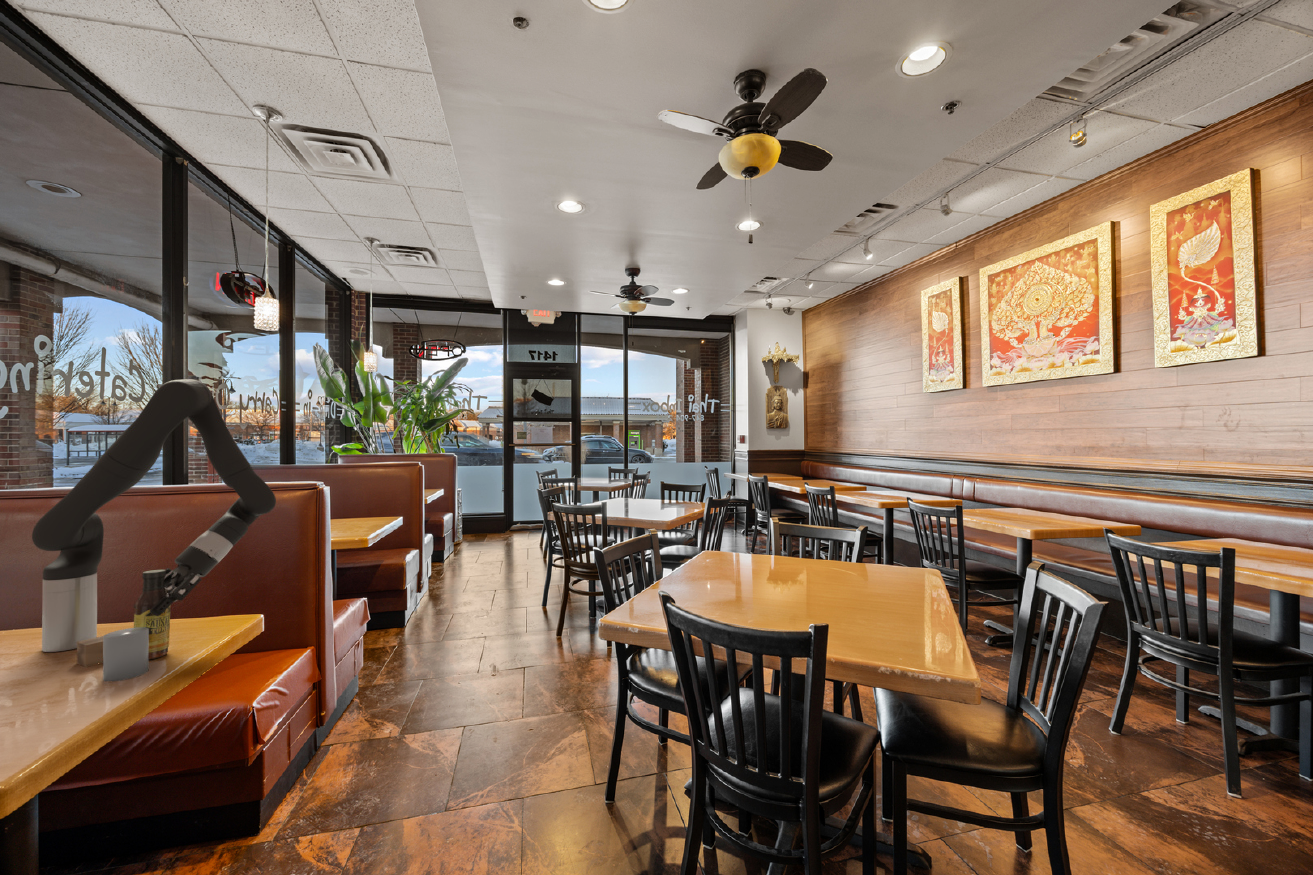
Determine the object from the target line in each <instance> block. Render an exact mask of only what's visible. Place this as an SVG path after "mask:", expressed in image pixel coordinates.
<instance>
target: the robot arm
mask: <svg viewBox="0 0 1313 875" xmlns="http://www.w3.org/2000/svg"><path fill="white" fill-rule="evenodd" d="M186 419H189V420H190V422H192V424H193V425H194V427H195V428H196V429H197V431H198V433H199V435H200V437H201V438H202V442H203V445H204V448H205V451H206V454H207V457H208V459H209V462H210V464H211V466H212V467H213V468H214V471H216V473H217V475H218V476H219V477H220V479H221V480H222V482H223V483H224V484H225V485H226V486H227V488H231V489H233V491H235V493H236V494H237V496H238V498H237V499H236V500H235V501H234V503H233V504H232V505H230V507H229V508H228V509H227V511H226V512H225V513H224V514H223V515H222V517H220V518H219V519H218V520H216V521H215V522H214V523H213V524H212V525H211V526H210V527H209V528H207V530H206V531H205V532H203V533H202V534H200V535H199V536H197V538H196V539H195V540H193V541H192V542H191V543H190V544H189V545H188V546H187V548H185V549H184V550H183V551H182V552H181V553H180V554H179V555H177V557H176V558H175V559H174V563H175V564H177V567H175V568H174V569H171V568H169V567H167V568H165V570H166V576H165V580H164V586H165V592H166V594H165V597H166V598H164V597H163V598H162V599H161V600H160V601H159V602H158V603H157V604H156V605H155V606H154V607H153V608H151V609H150V613H152V614H154V615H155V616H160V615H161V614H162V613H163V612H164V611H165V610H166V609H167V608H168V607H169V606H170V605H172V604H173V603H176V602H177V601H180V602H182V601H183V600H184V599H185V598H186V597H187V596H188V595H189V594H190V593H191V592H192V591H193V590H194V589H195V588H196V586H197V585H198V584H199V583H200V582H201V581H202V578H203V577H206V576H207V575H208V574H209V573H210V572H211V571H212V570H213V569H214V568H215V567H216V566H217V565H218V564H219V563H220V562H221V561H222V560H223V558H225V557H226V556H227V555H228V553H229V552H230V551H231V550H232V548H233V547H234V546H235V545H236V544H238V542H239V541H240V540H241V539H242V538H243V537H244V536H245V535H246V534H247V533H248V530H249V527H250V526H251V525H252V524H253V523H254V522H255V521H256V520H257V519H258V518H259V517H260V516H262V515H266V514H268V513H270V512H272V510H273V509H275V507H276V504H277V498H276V496H275V493H274V492H273V490H272V489H271V488H270V486H269V485H268V484H267V483H266V482H265V481H264V479H263V478H262V477H260V476H259V475H258V474H257V472H255V470H254V468H253V466H252V465H251V464H250V462H249V460H248V458H246V456H245V455H244V453H243V452H242V450H241V449H240V447H239V445H238V444H237V442H236V441H235V439H234V437H233V435H232V433H231V432H230V430H229V428H228V426H227V425H226V422H225V420H224V419H223V416H222V414H221V412H220V410H219V408H218V405H217V403H216V400H215V397H214V395H213V393H212V392H211V390H210V388H209V386H207V385H206V384H205V383H204V382H201V381H200V380H198V379H189V378H186V379H185V378H184V379H174V380H173V379H172V380H170V381H167V382H164V383H163V384H161V385H160V386H159V387H158V388H157V389H156V390H155V391H154V393H153V394H152V396H151V397H150V399H149V400H148V402H147V404H146V405H145V406H144V408H143V410H141V412H140V413H139V414H138V416H137V418H136V419H135V420H134V421H133V422H132V423H131V424H130V425H129V426H128V427H127V428H126V429H125V430H124V431H123V432H122V433H121V434H120V435H119V437H118V438H117V439H116V440H115V441H114V442H113V443H112V444H111V445H110V446H109V447H108V448H107V450H105V452H104V453H103V454H102V455H101V456H100V457H99V458H98V460H97V461H95V462H94V464H93V466H92V467H91V468H90V469H89V470H88V471H87V472H86V473H85V475H84V476H83V477H81V478H80V480H79V481H78V482H77V483H76V484H75V485H74V487H73V488H71V490H70V491H69V492H67V494H65V496H64V497H63V498H62V499H60V500H59V501H58V502H57V503H56V504H54V506H53V507H51V509H50V510H48V511H47V512H46V513H45V514H44V515H42V516H41V517H40V519H39V520H38V521H37V522H36V523H35V525H34V526H33V529H32V534H31V539H32V543H33V545H34V546H35V547H36V548H37V549H39V550H41V551H44V552H46V551H47V552H59V551H60V553H59V555H58V556H57V557H56V559H54V561H52V562H51V563H49V564H48V565H46V566H45V567H44V568H43V570H42V611H41V612H42V616H41V618H42V620H41V624H42V626H41V627H42V628H41V640H42V641H41V651H42V652H44V653H45V652H46V653H54V652H56V653H57V652H65V651H69V650H70V651H71V650H74V649H77V642H78V641H83V640H87V639H91V638H96V637H98V630H97V629H98V568H99V567H98V566H99V565H100V564H101V561H102V558H103V550H104V549H103V548H104V532H105V531H104V529H105V528H104V522H103V521H102V519H101V518H102V517H100V516H99V514H97V513H96V512H97V511H98V510H100V509H101V508H102V507H103V506H105V505H106V504H108V503H110V502H111V501H113V500H114V499H116V498H118V496H119V497H120V495H122V494H124V493H125V492H127V491H128V490H130V489H131V488H133V487H134V486H135V485H137V484H138V483H139V482H140V480H142V479H143V478H144V476H145V475H146V474H147V473H148V472H149V471H150V470H151V468H153V467H154V465H155V463H156V462H157V460H158V459H159V456H160V454H161V452H162V449H163V446H164V443H165V442H166V440H167V438H168V437H169V435H170V434H171V433H172V432H173V431H174V430H175V429H176V428H177V427H178V426H179V425H180V424H181V423H182V422H183V421H184V420H186ZM170 607H171V606H170ZM133 608H134V609H135V604H134V605H133Z"/></svg>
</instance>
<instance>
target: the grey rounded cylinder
mask: <svg viewBox="0 0 1313 875" xmlns="http://www.w3.org/2000/svg"><path fill="white" fill-rule="evenodd" d="M102 636H103V663H102V681H103V682H107V681H112V682H119V681H125V680H130V679H133V678H137V677H139V676H142V675H144V674H146V673H148V672H149V670H150V669H149V628H147V627H136V628H134V627H129V628H123V629H119V630H115V631H111V632H108V633H106V634H104V635H102Z"/></svg>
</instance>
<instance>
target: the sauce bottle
mask: <svg viewBox="0 0 1313 875" xmlns="http://www.w3.org/2000/svg"><path fill="white" fill-rule="evenodd" d="M165 576H166V569H154V570H153V569H152V570H147V571H143V572H142V576H141V578H142V580H143V581H142V593H141V594H140V595H139V596H138V597H137V600H136V602H135V603H134V605H135V608H134V613H133V628H136V627H147V628H149V660H154V659H158V658H160V657H161V658H162V657H163V656H165V655H167V653H168V652H169V646H170V633H171V632H170V626H171V622H170V621H171V605H172V604H171V605H170V606H169V607H168V608H167V609H166V610H165V611H164V612H163V613H162V614H161V615H160V616H155V615H154V614H152V613H150V609H151V608H153V607H154V606H155V605H156V604H157V603H158V602H159V601H160V600H161V599H162V598H163V597H164V598H166V597H165V594H166V592H165V586H164V580H165Z"/></svg>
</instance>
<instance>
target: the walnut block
mask: <svg viewBox="0 0 1313 875" xmlns="http://www.w3.org/2000/svg"><path fill="white" fill-rule="evenodd" d="M103 636H104V635H100V636H97V637H96V638H91V639H87V640H83V641H78V642H77V648H76V664H77V663H78V665H79V666H82V667H83V666H84V667H83V668H89V667H92V666H91V665H93V666H96V665H95V664H97V665H99V664H98V663H101V664H103Z"/></svg>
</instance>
